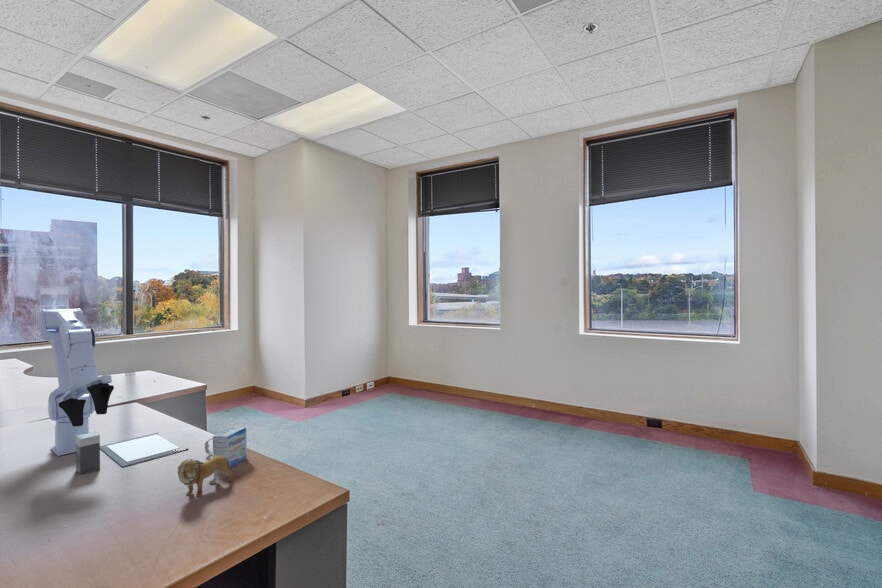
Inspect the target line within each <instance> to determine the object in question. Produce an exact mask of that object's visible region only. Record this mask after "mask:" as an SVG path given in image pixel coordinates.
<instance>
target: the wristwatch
mask: <svg viewBox="0 0 882 588" xmlns="http://www.w3.org/2000/svg"><path fill="white" fill-rule="evenodd" d="M211 440H213V437H211V438H209V439H208V440H207V441H205V443H204V451H205V453H206V454H207V455H208V456H211V455H212V457H213V451H210V449H209V448H210V444H209V442H210V441H211Z"/></svg>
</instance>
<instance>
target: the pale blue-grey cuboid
mask: <svg viewBox="0 0 882 588" xmlns="http://www.w3.org/2000/svg"><path fill="white" fill-rule="evenodd" d="M100 436H101V434H99V433H98V432H96V431H92V432H89V433H86V434H82V435H77V436H76V452H75V468H76V469H75V471H76V472H77V473H78V474H79V475H80V476H81V474H82V475H86V474H89V473H92V472H96V471H100V470H101V449H100V446H101V437H100Z"/></svg>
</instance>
